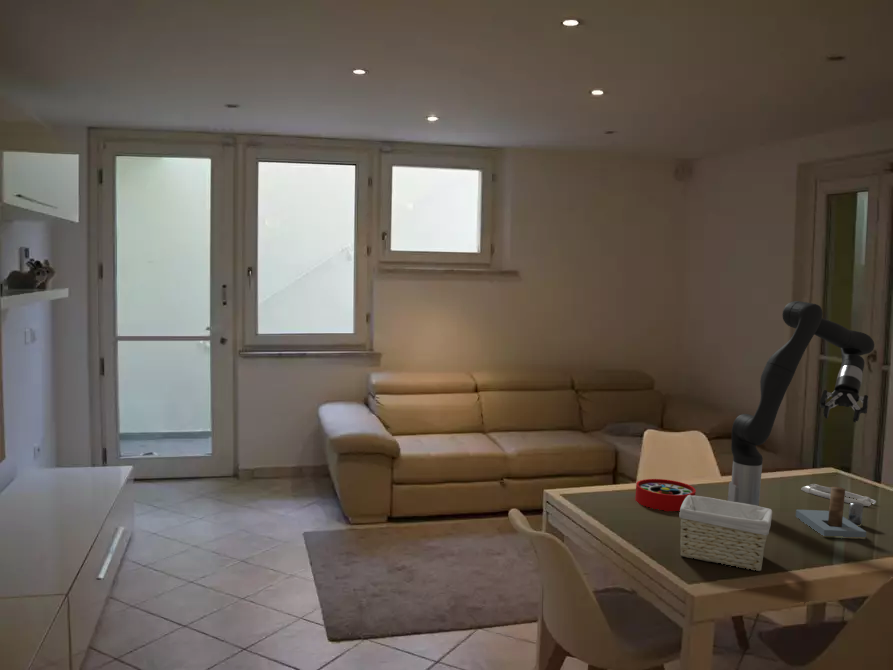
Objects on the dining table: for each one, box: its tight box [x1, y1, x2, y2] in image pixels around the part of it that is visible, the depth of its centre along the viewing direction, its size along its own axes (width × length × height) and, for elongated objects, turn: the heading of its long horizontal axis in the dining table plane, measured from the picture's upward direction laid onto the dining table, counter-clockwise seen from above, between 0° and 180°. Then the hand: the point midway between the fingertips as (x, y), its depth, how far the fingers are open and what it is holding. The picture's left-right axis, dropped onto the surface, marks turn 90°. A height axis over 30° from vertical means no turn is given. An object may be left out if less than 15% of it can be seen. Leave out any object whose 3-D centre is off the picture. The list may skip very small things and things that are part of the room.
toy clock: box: [634, 478, 697, 512], centre depth 271 cm, size 20×6×20 cm
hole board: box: [795, 509, 867, 538], centre depth 252 cm, size 13×20×2 cm, turn 0°
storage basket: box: [678, 495, 773, 572], centre depth 221 cm, size 24×16×15 cm
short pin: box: [847, 502, 864, 525], centre depth 256 cm, size 4×4×7 cm
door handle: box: [800, 483, 877, 507], centre depth 287 cm, size 3×10×25 cm
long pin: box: [828, 486, 846, 527], centre depth 248 cm, size 4×4×14 cm
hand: (840, 419), depth 260 cm, fingers open, 8 cm apart
